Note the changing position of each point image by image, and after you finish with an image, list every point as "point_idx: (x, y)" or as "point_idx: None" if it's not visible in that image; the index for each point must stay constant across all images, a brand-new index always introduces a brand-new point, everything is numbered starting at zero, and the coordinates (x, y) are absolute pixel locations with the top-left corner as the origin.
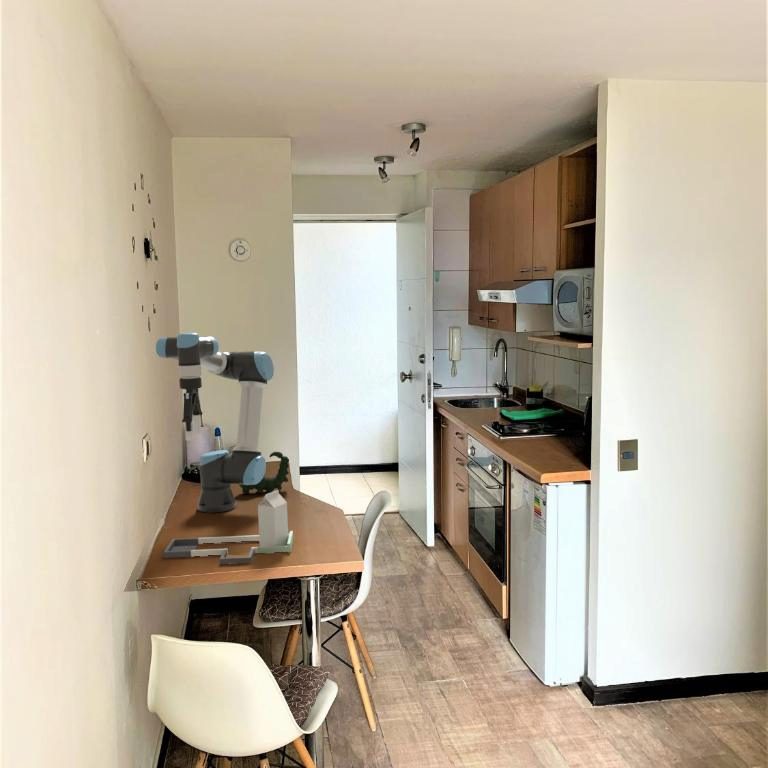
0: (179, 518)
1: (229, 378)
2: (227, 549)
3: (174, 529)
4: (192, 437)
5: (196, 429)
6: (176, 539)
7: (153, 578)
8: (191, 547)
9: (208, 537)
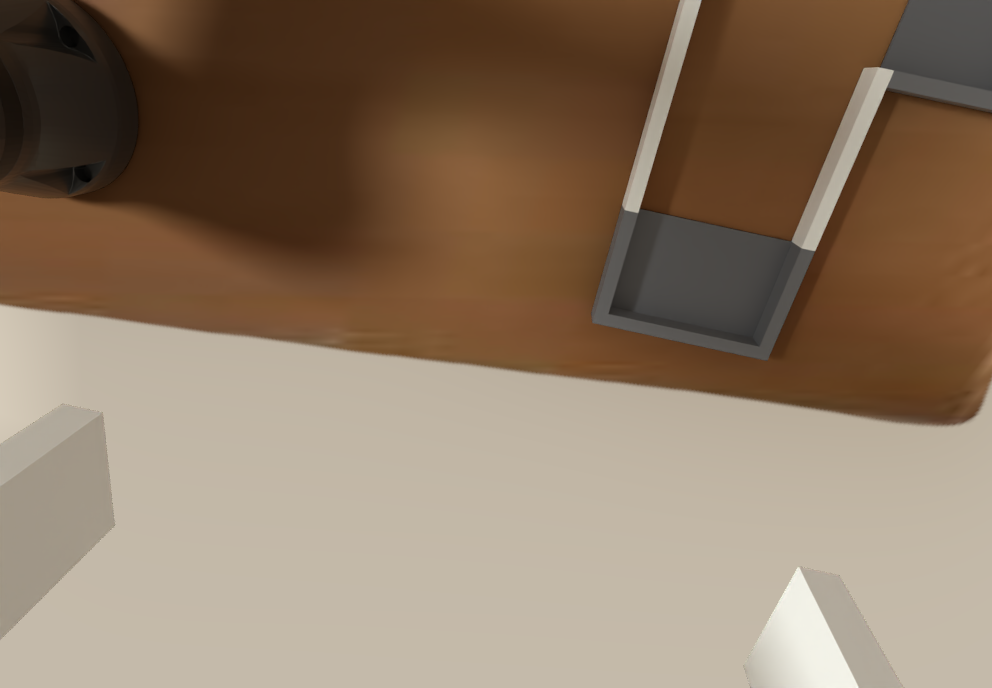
0: (211, 281)
1: None
2: (882, 68)
3: (375, 304)
4: (855, 638)
5: (49, 530)
6: (608, 307)
7: (987, 387)
8: (678, 240)
9: (641, 161)
